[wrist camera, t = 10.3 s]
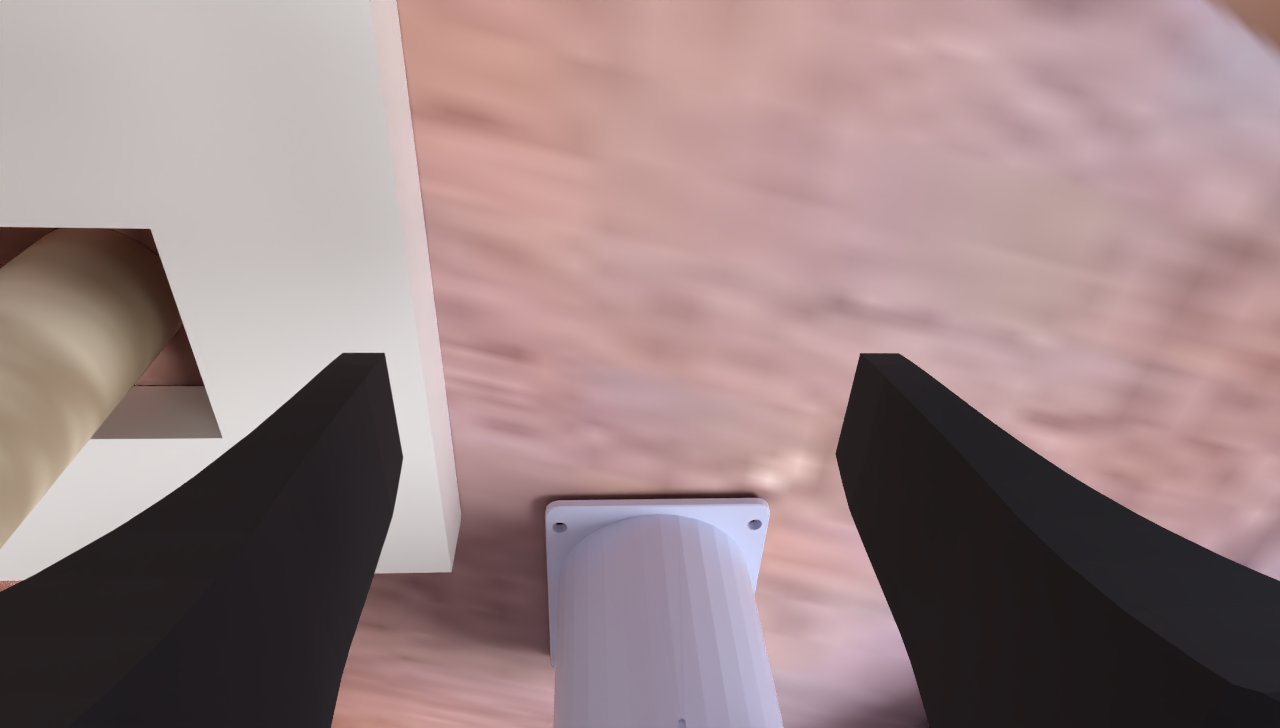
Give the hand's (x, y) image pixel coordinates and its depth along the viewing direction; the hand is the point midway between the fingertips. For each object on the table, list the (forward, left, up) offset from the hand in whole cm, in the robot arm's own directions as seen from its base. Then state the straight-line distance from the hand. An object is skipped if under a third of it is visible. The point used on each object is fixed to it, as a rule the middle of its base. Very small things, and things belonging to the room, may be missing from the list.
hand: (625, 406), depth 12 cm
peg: (-4, +14, -10) cm, 18 cm away
